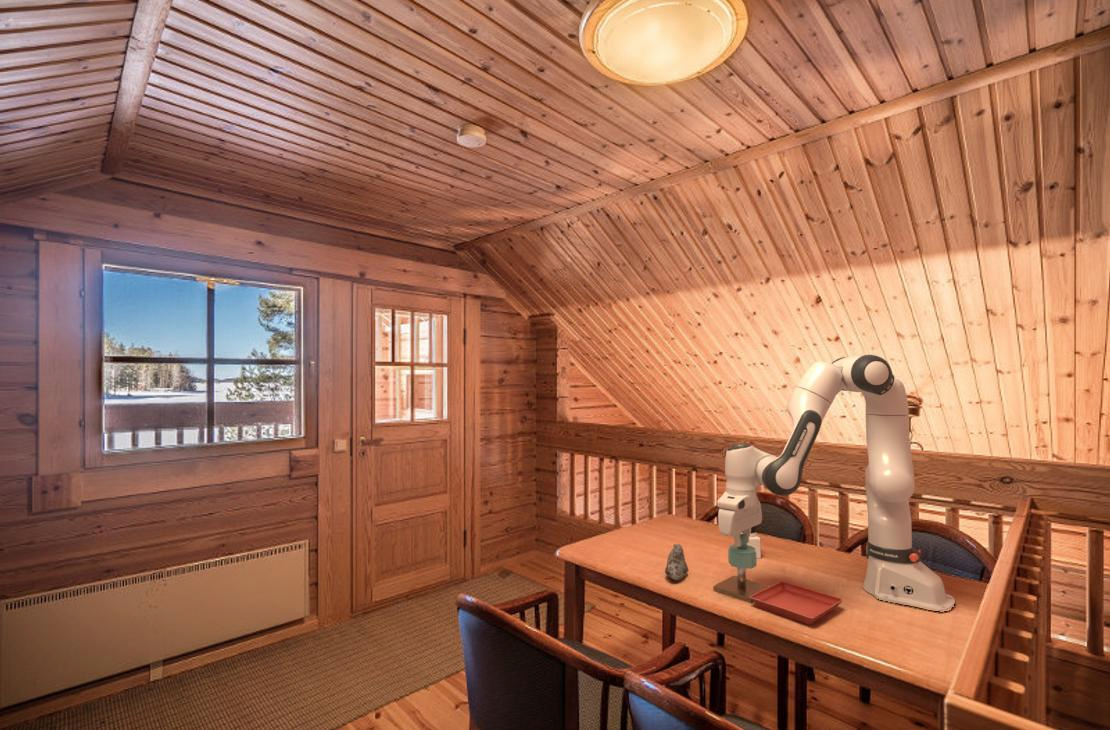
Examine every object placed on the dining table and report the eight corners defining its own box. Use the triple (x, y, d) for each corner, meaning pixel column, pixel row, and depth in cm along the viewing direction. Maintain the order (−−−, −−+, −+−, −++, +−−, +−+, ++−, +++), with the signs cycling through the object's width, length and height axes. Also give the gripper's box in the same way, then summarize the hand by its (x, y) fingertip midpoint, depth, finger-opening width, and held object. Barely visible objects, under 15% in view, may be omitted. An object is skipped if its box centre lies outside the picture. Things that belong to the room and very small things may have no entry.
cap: (737, 558, 167) (736, 529, 167) (760, 564, 161) (759, 534, 161) (724, 564, 162) (724, 534, 162) (747, 570, 156) (747, 540, 156)
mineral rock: (674, 586, 166) (673, 553, 166) (647, 575, 174) (647, 544, 174) (699, 575, 174) (699, 544, 174) (673, 566, 182) (672, 537, 183)
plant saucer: (748, 607, 151) (748, 595, 151) (781, 591, 162) (781, 579, 162) (812, 631, 137) (812, 618, 137) (844, 611, 148) (843, 599, 148)
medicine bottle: (761, 558, 189) (760, 524, 189) (740, 558, 189) (740, 524, 190) (754, 552, 196) (753, 519, 196) (734, 552, 196) (734, 519, 197)
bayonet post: (770, 591, 161) (770, 556, 161) (751, 603, 153) (750, 566, 153) (733, 580, 170) (733, 546, 170) (713, 591, 162) (713, 556, 162)
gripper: (747, 491, 171) (748, 534, 171) (713, 502, 157) (714, 549, 157) (766, 494, 167) (767, 538, 166) (733, 505, 153) (735, 554, 152)
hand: (741, 544), depth 162 cm, fingers closed on cap, 3 cm apart
